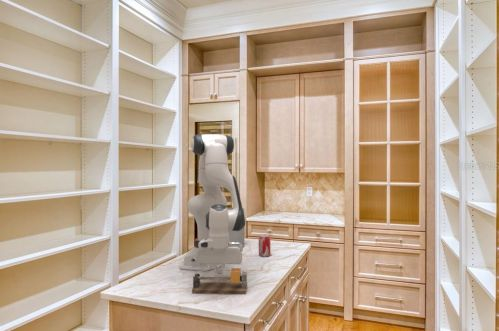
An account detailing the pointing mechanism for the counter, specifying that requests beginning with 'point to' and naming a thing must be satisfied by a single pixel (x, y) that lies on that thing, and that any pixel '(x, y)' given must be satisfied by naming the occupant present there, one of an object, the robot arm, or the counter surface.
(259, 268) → the counter surface
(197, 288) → the cord board
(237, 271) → the notched orange cube
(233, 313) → the counter surface
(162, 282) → the counter surface
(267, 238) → the soda can
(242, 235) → the cylinder vase
